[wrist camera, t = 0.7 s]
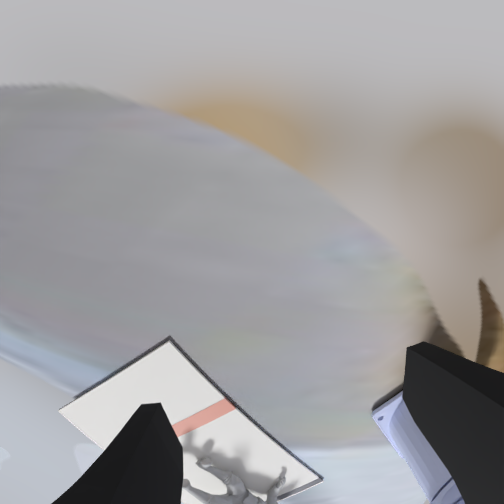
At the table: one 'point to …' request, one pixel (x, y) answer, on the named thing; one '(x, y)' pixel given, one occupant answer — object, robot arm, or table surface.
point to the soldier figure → (230, 488)
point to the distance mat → (191, 425)
